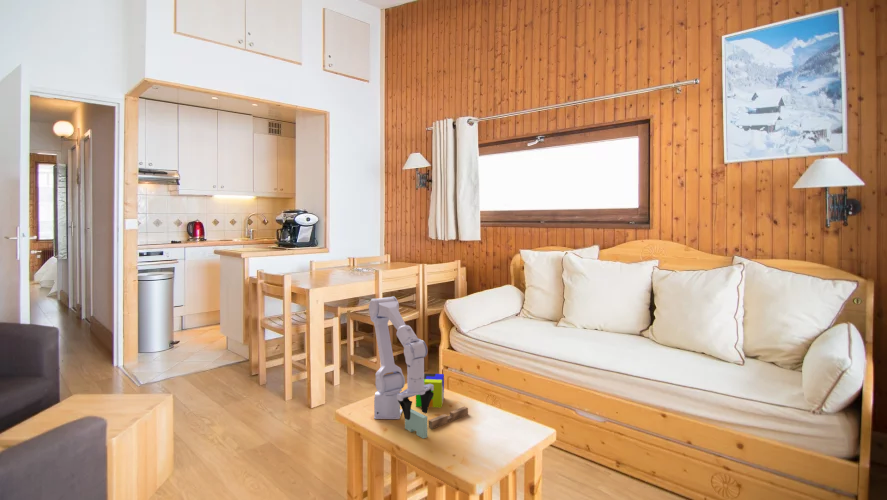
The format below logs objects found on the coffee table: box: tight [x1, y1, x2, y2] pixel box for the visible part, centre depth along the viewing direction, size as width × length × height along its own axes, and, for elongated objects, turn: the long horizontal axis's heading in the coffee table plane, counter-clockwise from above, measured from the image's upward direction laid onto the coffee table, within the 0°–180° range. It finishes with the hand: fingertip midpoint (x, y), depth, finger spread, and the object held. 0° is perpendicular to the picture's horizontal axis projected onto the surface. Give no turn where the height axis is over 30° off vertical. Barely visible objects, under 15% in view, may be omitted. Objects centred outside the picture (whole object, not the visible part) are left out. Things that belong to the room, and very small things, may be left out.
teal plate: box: [404, 408, 428, 439], centre depth 159 cm, size 10×2×7 cm, turn 43°
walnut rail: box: [427, 405, 469, 430], centre depth 169 cm, size 18×2×3 cm, turn 132°
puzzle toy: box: [415, 373, 445, 409], centre depth 186 cm, size 10×10×10 cm
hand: (416, 415), depth 159 cm, fingers open, 7 cm apart
